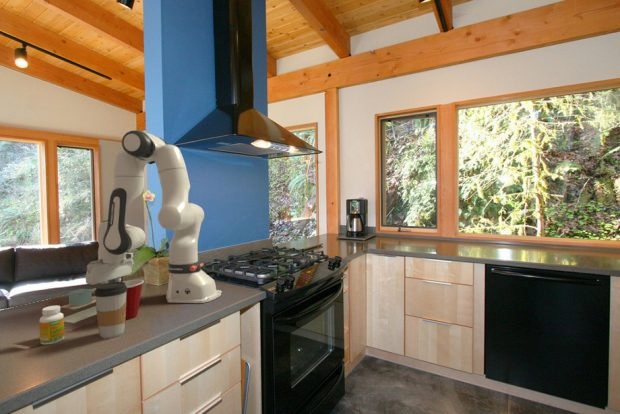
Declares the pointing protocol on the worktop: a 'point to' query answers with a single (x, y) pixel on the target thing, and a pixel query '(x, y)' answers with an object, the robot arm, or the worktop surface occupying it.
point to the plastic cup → (133, 297)
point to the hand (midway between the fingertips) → (111, 289)
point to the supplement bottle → (51, 325)
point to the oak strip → (79, 306)
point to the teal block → (80, 297)
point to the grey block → (81, 315)
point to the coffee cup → (111, 308)
